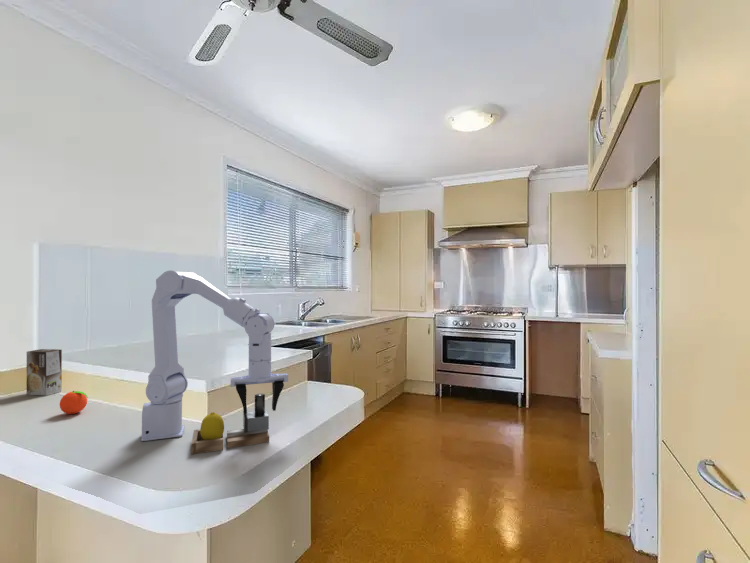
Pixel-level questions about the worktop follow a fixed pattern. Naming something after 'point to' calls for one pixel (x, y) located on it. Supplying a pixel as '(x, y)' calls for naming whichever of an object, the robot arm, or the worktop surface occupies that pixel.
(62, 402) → the clementine
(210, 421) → the lemon
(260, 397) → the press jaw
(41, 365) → the coffee box
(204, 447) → the lemon cradle
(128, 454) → the worktop surface
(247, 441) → the press bed
